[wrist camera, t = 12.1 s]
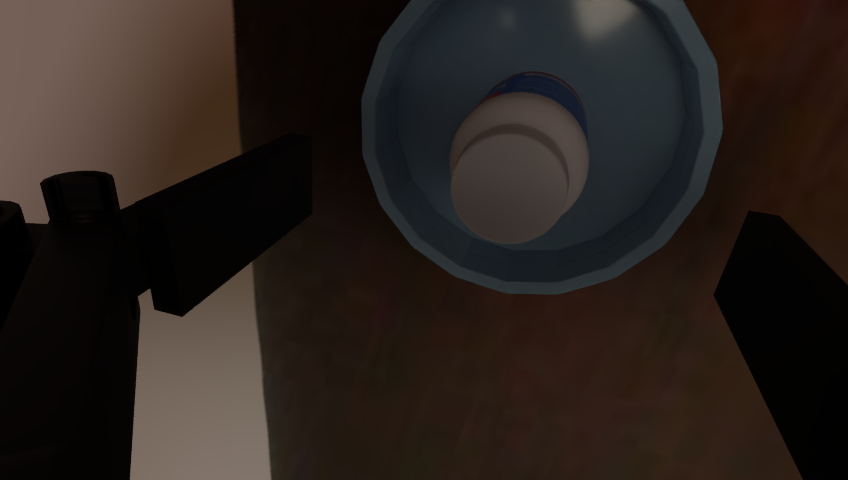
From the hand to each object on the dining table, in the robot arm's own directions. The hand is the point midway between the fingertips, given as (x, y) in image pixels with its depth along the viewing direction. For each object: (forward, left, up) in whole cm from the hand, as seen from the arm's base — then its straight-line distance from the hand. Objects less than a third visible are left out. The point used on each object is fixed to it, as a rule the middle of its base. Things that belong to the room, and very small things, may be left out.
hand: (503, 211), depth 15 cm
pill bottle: (0, 0, -12) cm, 12 cm away
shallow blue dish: (0, 0, -12) cm, 12 cm away
